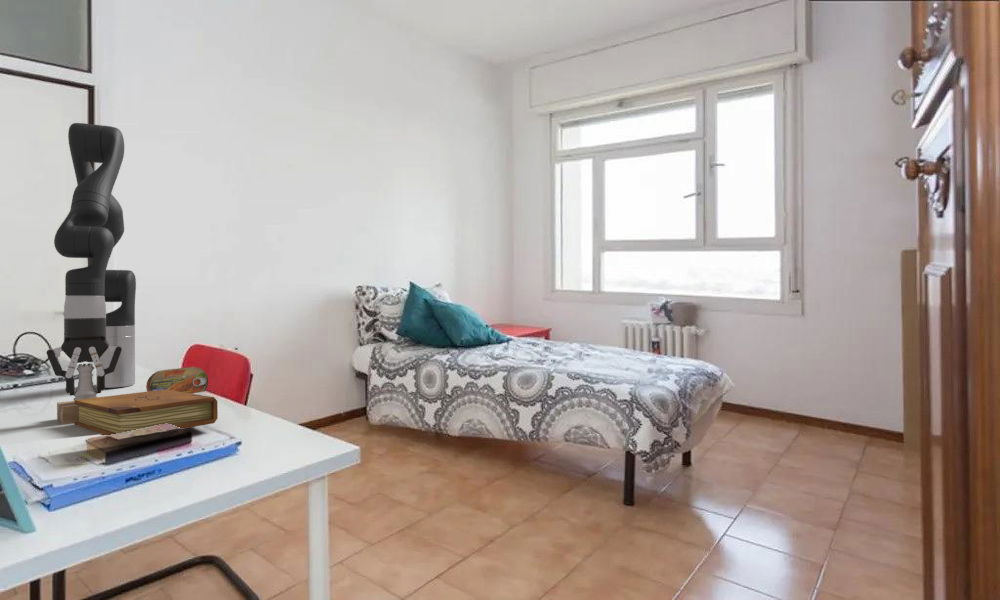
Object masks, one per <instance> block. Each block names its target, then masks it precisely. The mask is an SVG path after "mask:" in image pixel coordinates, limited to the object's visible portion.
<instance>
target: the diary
mask: <svg viewBox="0 0 1000 600" xmlns="http://www.w3.org/2000/svg"><path fill="white" fill-rule="evenodd" d="M73 401H74V404H75V405H79V422H74V423H73V424H74V426H77V427H79V428H83V429H87V430H90V431H93V432H96V433H99V434H100V436H101V435H102V436H104V435H111V434H116V433H122V432H127V431H131V430H136V429H140V428H145V427H150V426H154V425H159V424H165V423H168V424H172V425H175V426H177V427H180V428H184V429H188V428H189V429H190V428H194V427H200V426H205V425H212V424H215V423H216V421H218V418H219V417H218V416H219V415H218V414H219V413H218V410H219V409H218V400H217V399H216V398H215V397H214V396H210V395H209V396H208V395H202V394H198V393H192V394H191V393H184V392H178V391H171V390H165V389H164V390H156V391H147V390H146V391H140V392H132V393H122V394H116V395H106V396H97V397H96V398H88V399H79V400H73Z"/></svg>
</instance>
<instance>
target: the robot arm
mask: <svg viewBox="0 0 1000 600" xmlns="http://www.w3.org/2000/svg"><path fill="white" fill-rule="evenodd" d="M67 137H68V145H69V151H70V157H71V161H72V164H73V169H74V174H75V178H76V179H75V180H76V184H77V185H76V187H75V189H74V191H73V195H72V199H71V204H70V210H69V212H68V214H67V215H66V217H65V218H64V220H63V221H62V222H61V224H60V225H59V227H58V229H56V232H55V234H54V240H53V244H54V248H55V250H56V252H57V253H58V254H59V255H61V257H65V258H68V259H71V258H72V259H87V266H84V267H80V268H79V267H78V268H72V269H69V270H67V271H66V273H65V281H64V282H65V284H64V285H65V287H64V289H65V290H64V291H65V292H64V293H65V297H64V304H63V313H62V314H63V315H62V316H63V341H62V342H63V343H62V344H61V346H59V347H55V348H49V349H47V350H46V351H45V352H46V355H47V358H48V360H49V363H50V366H51V367H52V370H53V372H54V375H55V376H56V377H62V378H64V379H65V392H66V393H67V394H69V396H74V393H75V392H76V389H75V387H76V386H75V381H76V380H75V379H76V378H75V377H74V373H75V371H76V369H77V367H78V366H77V365H78V364H82V363H85V362H86V363H92V364H93V365H94V368H95V374H96V378H95V379H96V381H95V383H96V384H95V386H96V391H97V394H101V393H102V391H104V390H105V389H108V388H109V389H110V388H121V387H123V388H124V387H130V386H135V385H134V384H136V319H135V317H136V314H135V313H136V312H135V309H136V306H135V305H136V293H137V292H136V290H137V280H136V274H135V273H134V272H133V271H132V270H131V269H130V270H129V269H128V270H127V269H108V268H107V267H108V264H109V261H110V258H111V255H112V253H113V249H114V248H115V246H116V245H117V244H118V243H119V241H120V240H121V239H122V237H123V235H124V232H125V221H124V213H123V211H124V210H123V208H122V206H121V204H120V202H119V201H118V200H117V199H116V197H115V196H114V195H113V194H112V192H113V189H114V186H115V183H116V181H117V179H118V176H119V173H120V170H121V167H122V163H123V159H124V157H125V140H124V135H123V132H122V131H121V130H120V129H119V128H118V127H114V126H109V125H102V124H101V125H100V124H92V123H83V122H73V123H71V124H70V125H69V128H68V135H67ZM91 163H96V164H97V163H98V164H100V166H99V167H98V168H97V169H95V170H94V168H93V167H92V164H91ZM106 303H121V304H120V306H119V307H118V308H116V309H115V310H112V311H110V312H107V304H106ZM61 352H63V353H64V354H65V355H66V356H67V357H68V358H69V359H70V361H69V364H68V366H67V370H64V369H63V368H62V366H61V363H60V360H59V359H58V358H60V357H61Z"/></svg>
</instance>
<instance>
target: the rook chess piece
mask: <svg viewBox="0 0 1000 600" xmlns="http://www.w3.org/2000/svg"><path fill="white" fill-rule="evenodd" d="M77 365H78V366H77V367H76V371H77V372H78V374H77V377H78V383H77V388H76V389H75V393H74V395H73V396H74V398H73V399H72V401H74V400H79V399H88V398H96V397H98V393H97V389H96V388H95V387H94V382H93V381H94V380H93V376H94V374H93V371H94V370H95V366H93V365H94V363H83V364H82V363H78V364H77Z"/></svg>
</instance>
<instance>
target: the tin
mask: <svg viewBox="0 0 1000 600" xmlns="http://www.w3.org/2000/svg"><path fill="white" fill-rule="evenodd" d="M145 386H146V387H145V388H146V392H147V391H156V390H164V389H165V390H171V391H178V392H184V393H191V394H198V393H202V392H206V390H207V388H208V386H209V377H208V374H207V373H206V371H205V370H204V369H202V368H201V367H198V366H188V367H182V368H181V367H180V368H171V369H170V368H169V369H162V370H158V371H155V372H154V373H152V374H151V375H150V376H149V377H148V379H147V381H146V385H145Z"/></svg>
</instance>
